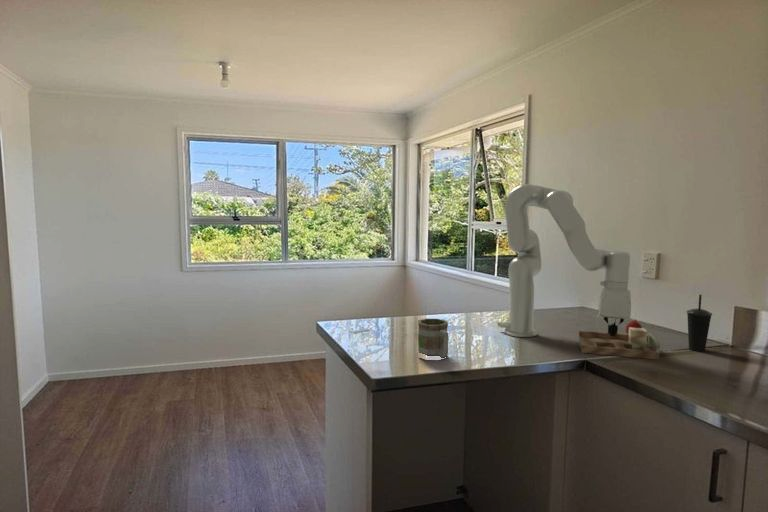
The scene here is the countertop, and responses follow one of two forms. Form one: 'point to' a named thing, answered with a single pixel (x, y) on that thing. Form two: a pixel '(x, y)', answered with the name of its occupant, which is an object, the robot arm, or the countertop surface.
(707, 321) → the drinking cup
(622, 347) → the track
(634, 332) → the block
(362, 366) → the countertop surface
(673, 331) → the countertop surface
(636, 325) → the onion
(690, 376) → the countertop surface
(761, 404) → the countertop surface
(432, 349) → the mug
